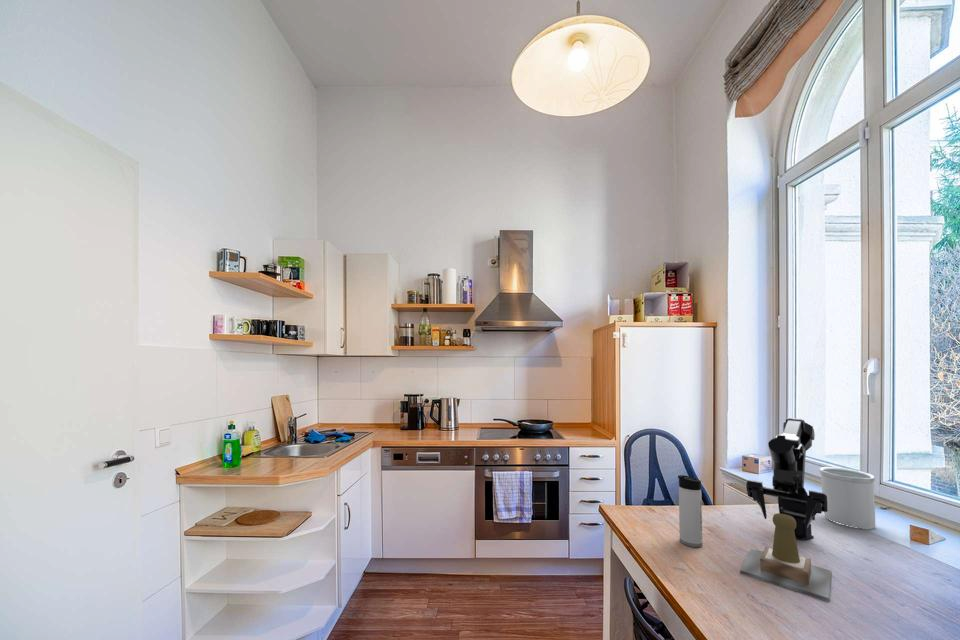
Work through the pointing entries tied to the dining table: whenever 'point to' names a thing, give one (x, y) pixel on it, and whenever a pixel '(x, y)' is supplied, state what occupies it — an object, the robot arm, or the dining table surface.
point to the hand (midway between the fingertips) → (785, 522)
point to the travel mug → (690, 511)
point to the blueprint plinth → (811, 590)
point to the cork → (785, 539)
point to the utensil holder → (849, 496)
